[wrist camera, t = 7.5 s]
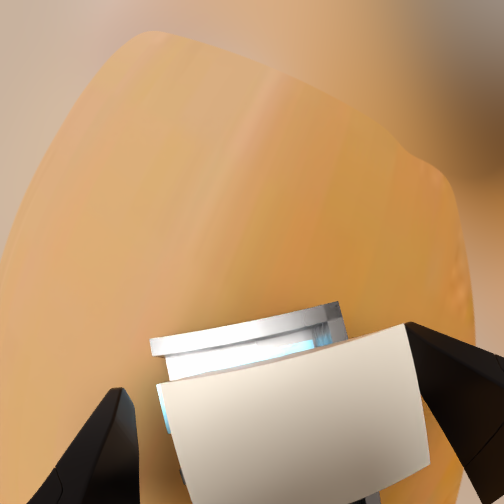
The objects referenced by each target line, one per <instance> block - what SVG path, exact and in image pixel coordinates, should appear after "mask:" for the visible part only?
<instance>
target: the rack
mask: <svg viewBox="0 0 504 504" xmlns="http://www.w3.org/2000/svg"><path fill="white" fill-rule="evenodd" d="M149 340H150V346H151V351H152V356H154V357H161V358H166V363H167V368H168V373H169V378H170V381H172V380H176V379H180V378H184V377H187V376H191V375H195V374H199V373H202V372H206V371H212V370H217V369H223V368H228V367H233V366H238V365H243V364H247V363H252V362H257V361H261V360H266V359H270V358H274V357H278V356H282V355H287V354H291V353H295V352H299V351H303V350H308V349H312V348H316V347H321V346H325V345H329V344H333V343H337V342H341V341H345V340H348V336H347V332H346V329H345V325H344V321H343V317H342V314H341V310H340V306H339V303H338V301H336V302H332V303H328V304H324V305H320V306H316V307H312V308H308V309H304V310H299V311H295V312H291V313H286V314H282V315H277V316H273V317H268V318H263V319H259V320H254V321H249V322H244V323H239V324H234V325H229V326H224V327H218V328H213V329H208V330H202V331H196V332H190V333H185V334H179V335H172V336H166V337H160V338H153V339H149ZM157 389H158V394H159V399H160V403H161V408H162V412H163V416H164V420H165V424H166V428H167V432H168V434H170V433H171V430H170V426H169V422H168V418H167V414H166V410H165V406H164V401H163V397H162V392H161V388H160V384H158V385H157ZM179 471H180V474H181V477H182V480H183V483H184V485H185V484H186V482H185V479H184V476H183V473H182V470H181V468H180V470H179ZM350 504H381V502H380V495H379V491H378V492H376V493H374V494H371V495H369V496H367V497H364V498H362V499H360V500H357V501H355V502H352V503H350Z"/></svg>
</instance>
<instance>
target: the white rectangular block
mask: <svg viewBox="0 0 504 504" xmlns="http://www.w3.org/2000/svg"><path fill="white" fill-rule="evenodd" d="M160 388H161V392H162V397H163V401H164V406H165V410H166V414H167V418H168V422H169V426H170V430H171V434H172V438H173V442H174V445H175V449H176V453H177V456H178V459H179V463H180V466H181V470H182V473H183V476H184V479H185V482H186V485H187V488H188V491H189V494H190V497H191V500H192V503H193V504H350V503H352V502H355V501H357V500H360V499H362V498H364V497H367V496H369V495H371V494H374V493H376V492H378V491H380V490H382V489H384V488H387V487H389V486H391V485H393V484H395V483H397V482H399V481H401V480H403V479H404V478H406V477H408V476H410V475H412V474H414V473H416V472H417V471H419V470H421V469H423V468H424V467H426V466H428V465H429V464H430V456H429V447H428V439H427V432H426V425H425V419H424V413H423V407H422V401H421V396H420V390H419V385H418V380H417V375H416V371H415V366H414V362H413V357H412V353H411V349H410V345H409V341H408V337H407V333H406V329H405V326H404V323H403V324H400V325H397V326H393V327H390V328H387V329H384V330H380V331H377V332H373V333H370V334H367V335H363V336H359V337H356V338H352V339H348V340H345V341H341V342H337V343H333V344H329V345H325V346H321V347H316V348H312V349H308V350H303V351H299V352H295V353H291V354H287V355H282V356H278V357H274V358H270V359H266V360H261V361H257V362H252V363H247V364H243V365H238V366H233V367H228V368H223V369H217V370H212V371H206V372H202V373H199V374H195V375H191V376H187V377H184V378H180V379H176V380H172V381H168V382H164V383H160Z"/></svg>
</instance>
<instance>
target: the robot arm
mask: <svg viewBox="0 0 504 504" xmlns="http://www.w3.org/2000/svg"><path fill="white" fill-rule="evenodd" d="M404 326H405V329H406V333H407V337H408V341H409V345H410V349H411V353H412V357H413V362H414V366H415V371H416V375H417V380H418V385H419V390H420V394H421V395H422V397H423V399H424V400H425V402H426V404H427V405H428V407H429V408H430V410H431V412H432V413H433V415H434V417H435V418H436V420H437V422H438V423H439V425H440V427H441V429H442V430H443V432H444V434H445V435H446V437H447V439H448V441H449V442H450V444H451V446H452V448H453V449H454V451H455V453H456V455H457V457H458V458H459V460H460V462H461V464H462V466H463V467H464V470H465V471H466V473H467V475H468V477H469V479H470V481H471V483H472V485H473V487H474V489H475V490H476V492H477V494H478V496H479V498H480V500H481V502H482V504H492V503H493V502H494V501H496V500H497V499H499V498H500V497H501V496H503V495H504V357H501V356H499V355H494V354H493V353H491V352H488V351H486V350H483V349H480V348H478V347H475V346H473V345H470V344H468V343H465V342H462V341H460V340H457V339H455V338H452V337H450V336H447V335H444V334H442V333H439V332H437V331H434V330H432V329H429V328H427V327H424V326H421V325H419V324H416V323H414V322H407V323H405V324H404ZM55 467H56V468H54V469H53V470H52V471H51V473H50V474H49V476H48V477H47V479H46V480H45V481H44V483H43V484H42V486H41V487H40V488H39V489H38V491H37V492H36V493H35V494H34V496H33V497H32V498H31V499H30V500H29V501H28V503H27V504H140V491H139V448H138V439H137V429H136V418H135V408H134V405H133V402H132V401H131V399H130V397H129V396H128V394H127V392H126V390H125V389H124V388H122V387H120V388H111V389H110V390H109V391H108V393H107V394H106V395H105V397H104V398H103V399H102V401H101V402H100V404H99V405H98V406H97V408H96V409H95V410H94V412H93V413H92V415H91V416H90V417H89V419H88V420H87V422H86V423H85V424H84V426H83V427H82V429H81V430H80V431H79V433H78V434H77V436H76V437H75V438H74V440H73V441H72V443H71V444H70V446H69V447H68V448H67V450H66V451H65V453H64V454H63V456H62V457H61V459H60V460H59V461H58V463H57V464H56V466H55Z"/></svg>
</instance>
